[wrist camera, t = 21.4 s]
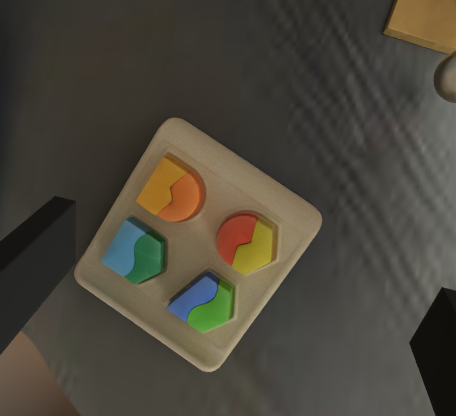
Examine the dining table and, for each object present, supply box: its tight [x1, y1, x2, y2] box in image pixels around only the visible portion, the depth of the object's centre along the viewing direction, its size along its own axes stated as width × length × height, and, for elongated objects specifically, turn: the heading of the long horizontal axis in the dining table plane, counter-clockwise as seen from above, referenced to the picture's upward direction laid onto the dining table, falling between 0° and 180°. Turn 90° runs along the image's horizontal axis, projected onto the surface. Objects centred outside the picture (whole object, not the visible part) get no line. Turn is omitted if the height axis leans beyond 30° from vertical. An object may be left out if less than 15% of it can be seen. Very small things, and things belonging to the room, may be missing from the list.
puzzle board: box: [74, 118, 322, 372], centre depth 37 cm, size 18×19×4 cm
